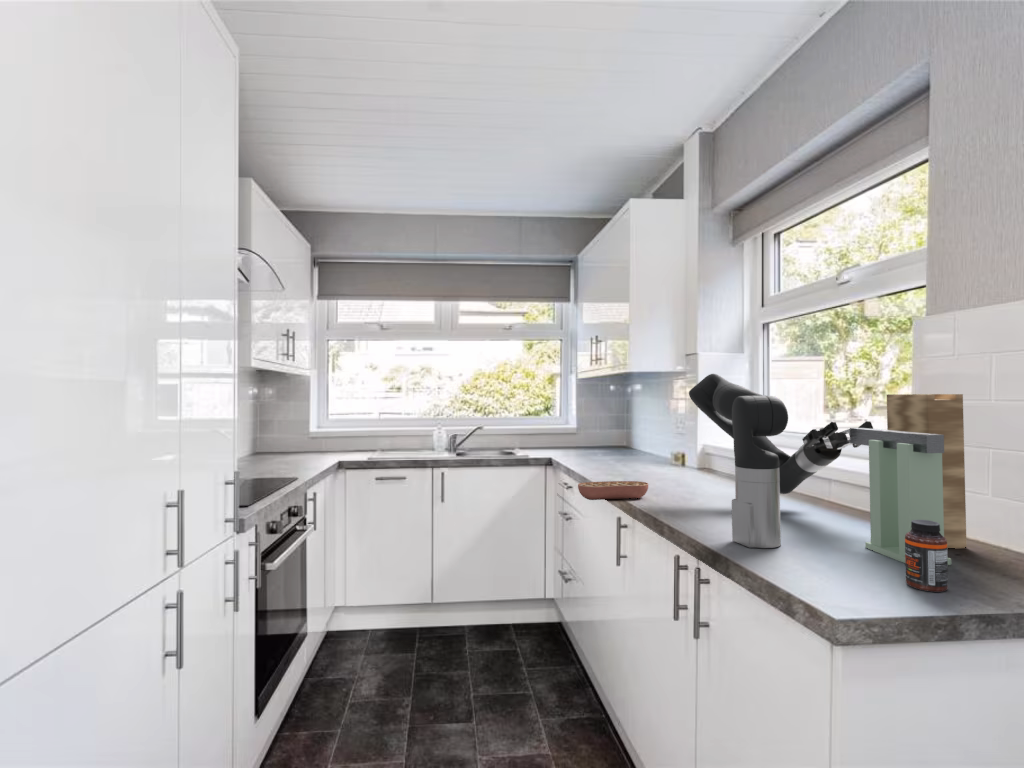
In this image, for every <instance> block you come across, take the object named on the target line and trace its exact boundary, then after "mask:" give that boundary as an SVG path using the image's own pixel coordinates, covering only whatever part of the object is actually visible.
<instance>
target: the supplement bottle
mask: <svg viewBox="0 0 1024 768" xmlns="http://www.w3.org/2000/svg"><path fill="white" fill-rule="evenodd" d="M911 528H912V529H911V531H910V532H908V533H907V534H906V535H905V563H904V564H905V565H904V567H905V568H904V569H905V571H904V573H905V582H906V584H907V585H908V586H910V587H911V588H914V589H917V590H918V591H923V590H924V591H925V592H929V591H930V592H931V593H942V592H946V591H947V590H948V588H949V573H948V572H949V569H948V567H949V565H948V558H949V557H948V549H947V540H946V538H945V537H944V536H942V535H941V534H940V532H939V531H940V524H939V523H937V522H934V521H929V520H912V521H911Z"/></svg>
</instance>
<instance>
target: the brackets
mask: <svg viewBox="0 0 1024 768" xmlns="http://www.w3.org/2000/svg"><path fill="white" fill-rule="evenodd" d="M868 475H869V476H868V477H869V513H870V516H869V517H870V518H869V519H870V521H869V522H870V541H868V542H867V541H865V546H864V547H865V549H867V548H868V550H871V551H872V550H873V552H874V553H875V552H876V553H878V554H880V555H883V556H885V557H888V558H891V559H893V560H896V561H899V562H900V563H903V564H905V535H906V534H907V533H908V532H910V531H911V529H912V528H911V521H912V520H929V521H934V522H937V523H939V524H940V531H939V532H940V534H941V535H942V536H944V514H943V472H942V453H921V452H913V444H905V443H897V449H890V448H883V441H879V440H869V446H868ZM951 565H952V558H950V557H948V566H951Z"/></svg>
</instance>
